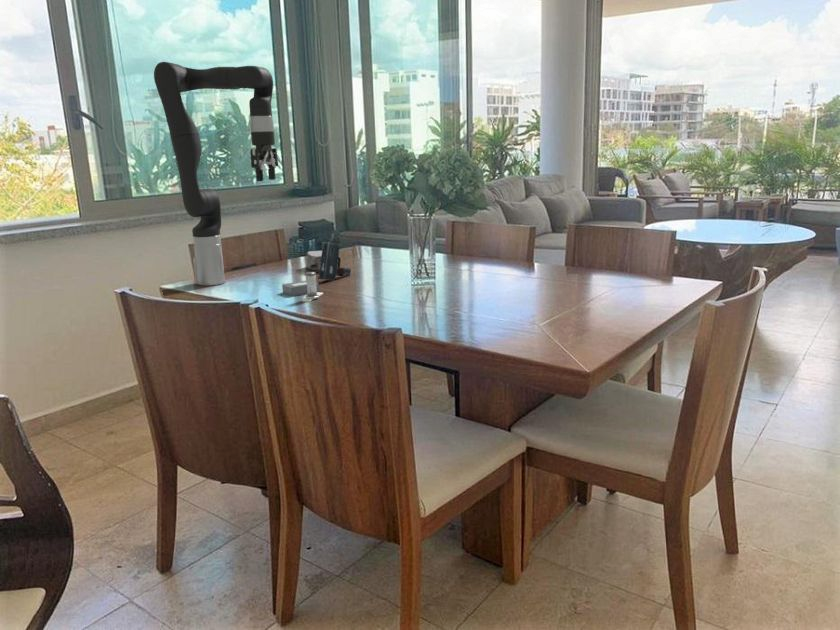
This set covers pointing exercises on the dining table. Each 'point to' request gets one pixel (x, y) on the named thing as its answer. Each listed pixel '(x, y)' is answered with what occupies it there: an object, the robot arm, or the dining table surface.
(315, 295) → the grey beige cylinder
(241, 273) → the dining table surface
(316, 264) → the decorative stone
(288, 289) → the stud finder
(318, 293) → the cream flat strip
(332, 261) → the gun
